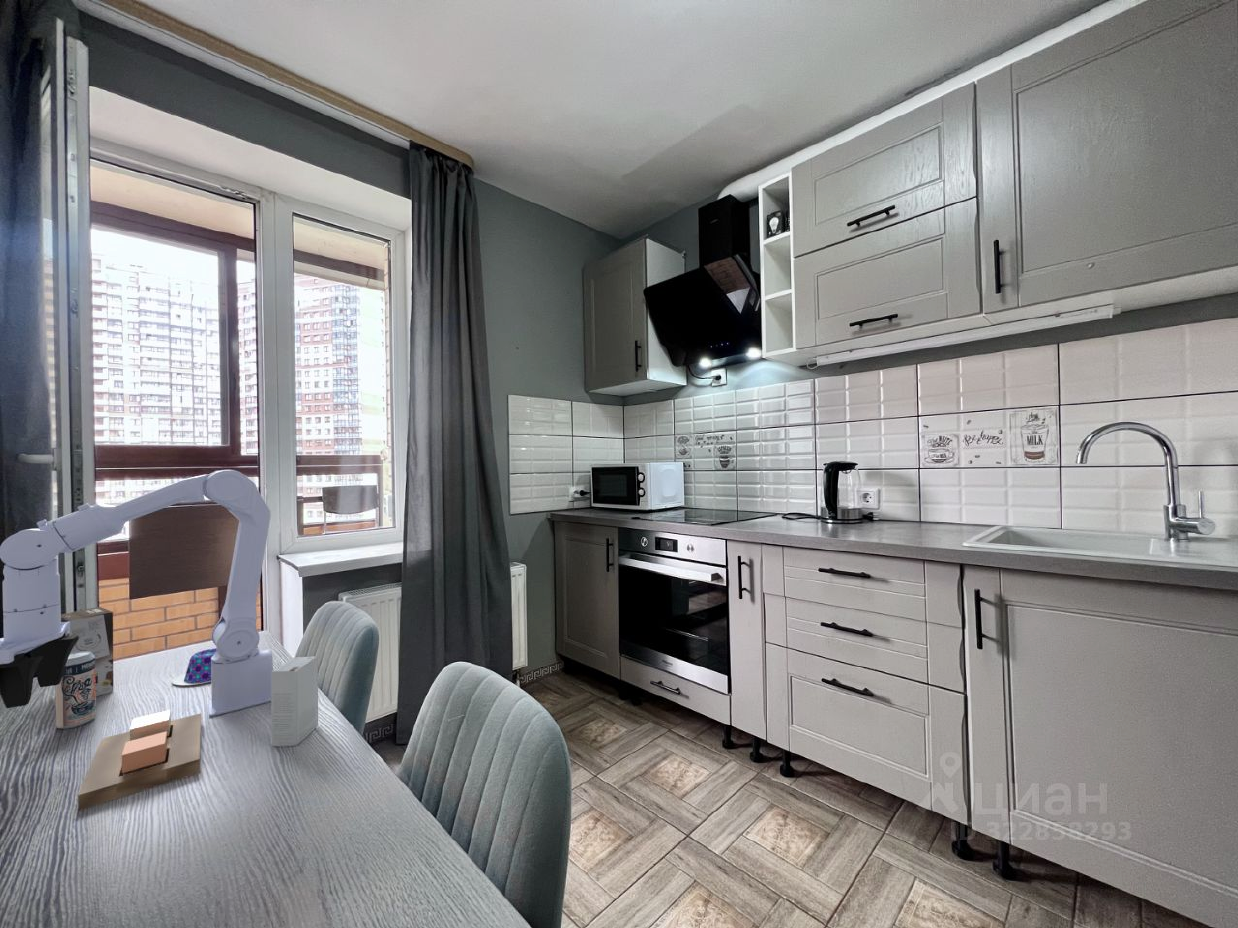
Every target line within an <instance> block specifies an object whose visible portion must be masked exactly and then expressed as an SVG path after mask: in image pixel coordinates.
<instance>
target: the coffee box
mask: <svg viewBox="0 0 1238 928" xmlns="http://www.w3.org/2000/svg"><path fill="white" fill-rule="evenodd" d="M63 622H70V633H69V634H67V635H65V636H71V635H78V636H79V639H78V641H77V643H76V644H75V646H74V647H73V649H72V651H71V653H76V652H82V651H90V652H92V654H93V655H94V656H95V683H96V697H99V696H102V695H103V696H104V695H106V694H111V693H113V692H114V611H112V610H110V609H106V608H104V607H103V606H102V607H101V606H98V607H92V608H86V609H81V610H80V609H79V610H76V611H72V612H68V613H67V612H66V613H61V623H63ZM71 653H70V654H71Z"/></svg>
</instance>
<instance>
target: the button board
mask: <svg viewBox="0 0 1238 928" xmlns="http://www.w3.org/2000/svg"><path fill="white" fill-rule="evenodd" d="M128 741H130V730H129V731H126V732H123V733H118V734H115V735H111V736H107V737H103V738H100V741H99V744H98V747H97V749H96V751H95V753H94V756H93V758H92V761H91V763H90V766H89V768H88V770H87V773H86V775H85V778H84V780H83V783H82V785H81V787H80V789H79V792H78V795H77V807H78V808H77V810H78V812H80V811H83V810H85V809H88V808H89V809H90V808H92V807H95V806H97V805H101V804H104V803H107V802H111V801H114V800H117V799H121V798H124V797H126V796H130V795H133V794H137V793H140V792H143V791H146V790H149V789H152V788H156V787H159V786H161V785H165V784H168V783H171V782H174V781H177V780H181V779H184V778H187V777H190V776H193V775H197V774H200V772H201V748H202V747H201V744H202V713H201V712H200V713H197V714H193V715H189V716H188V715H187V716H185V717H181V718H177V719H173V720H171V727H170V733H169V736H167V752H166V758H165V761H163V762H159V763H156V764H153V765H149V766H146V767H142V768H139V769H135V770H132V771H129V772H125V773H122V752H123V749H124V746H125V743H126V742H128Z"/></svg>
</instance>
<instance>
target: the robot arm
mask: <svg viewBox="0 0 1238 928" xmlns="http://www.w3.org/2000/svg"><path fill="white" fill-rule="evenodd" d="M205 497H206V498H207V499H208V500H210V501H211V502H214V503H216V504H218V505H220V506H221V507H224V508H226V510H227V511H228V512H229V513H230V514H232V516H233V517H235V518H236V519H237V520H238V525H237V526H238V527H237V532H236V537H235V545H234V550H233V556H232V561H231V567H230V571H229V572H230V573H229V579H228V583H227V590H226V596H225V602H224V605H223V606H222V610H221V615H220V618H219V620H218V622H216V624H215V626H214V627H213V629H212V631H211V635H210V637H211V640H212V643H213V644H214V645H215V647H216V648H217V651H216V653H215V654H214V655H213V656H212V657H211V682H210V685H211V698H210V699H209V700H208V717H214V716H219V715H223V714H226V713H230V712H234V711H238V710H242V709H245V708H250V707H253V706H258V705H261V704H264V703H270V702H271V672H272V671H273V670H274V667H273V666H274V665H273V663H274V662H273V652H272V649H271V648H270V649H262V650H261V649H260V647H259V644H260V639H261V638H260V634H259V631H258V629H257V621H258V620H257V619H258V616H257V602H258V600H257V599H258V594H259V588H260V582H261V577H262V576H261V575H262V570H263V564H264V558H265V557H264V556H265V551H266V546H267V540H268V535H269V534H268V533H269V527H270V522H271V521H270V520H271V515H272V514H271V510H270V509H269V506H268V504H267V502H266V501H265V500H264V498H263V496H262V494H261V493H260V491H259V490H258V487H257V484H256V483H255V482H254V481H252V479H250V478H249V477H248V476H246V475H245V474H243V473H242V472H240V471H238V470H235V469H221V470H215V471H212V472H211V473H209V474H201V475H198V476H197V475H196V476H193V477H189V478H185V479H181V480H177V481H176V482H172V483H171V484H168V485H166V486H162V487H160V488H158V489H155V490H153V491H150V492H147V493H145V494H143V495H140V496H138V497H134V498H132V499H130V500H128V501H125V502H122V503H120V504H117V505H109V504H105V503H102V502H99V503H95V504H93V505H90V503H84V504H82V505H79V506H77V509H78V510H77V511H74V512H71V513H69V514H66V515H63V516H60V517H57V518H54V519H52V520H48V521H47V519H42V520H40V521H37V522H36V525H37V527H38V528H29V529H23V530H20V531H18V532H16V533H14V534H12V535H10V536H8V537H7V538H6V539H5V540H3V542H2V543H1V545H0V560H1V561H2V563H4V565H3V568H2V569H3V570H2V574H3V576H4V579H3V580H2V612H3V614H2V615H3V617H2V618H3V637H1V638H0V697H1V700H2V702H3V704H4V706H5V708H6V709H10V708H11V709H13V708H18V707H23V706H27V705H28V704H30V700H31V698H32V692H33V684H34V679H35V675H36V680H37V682H38V685H39V688H44V687H53V686H54V687H55V685H58V684H60V682H61V679H62V676H63V673H64V669H65V666H66V663H67V660H68V657H69V655H70V653H71V651H72V649H73V647H74V646H75V644H76V643H77V641H78V639H79V636H78V635H71V636H65V635H67V634H69V633H70V622H63V623H61V614H62V610H61V609H62V608H61V607H62V605H61V604H62V603H61V575H60V573H59V572H58V558H57V556H58V555H59V554H60V553H62V554H63V553H67V554H71V553H74V552H76V551H78V550H81V549H83V548H86V547H89V546H91V545H93V544H97V543H98V542H99V543H100V542H101V541H103V540H107V539H108V538H111V537H113V536H116V535H118V534H121V532H122V530H123V528H124V527H125V526H124V525H125V524H126V523H127V522H129V521H132V520H135V519H137V518H138V519H139V518H140V517H144V516H146V515H148V514H151V513H155V512H157V511H160V510H163V509H165V508H168V507H171V506H173V505H176V504H179V503H181V502H205ZM26 653H28V654H29V656H30V657H28V656H27V655H25V654H26Z"/></svg>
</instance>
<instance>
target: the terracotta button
mask: <svg viewBox="0 0 1238 928" xmlns="http://www.w3.org/2000/svg"><path fill="white" fill-rule="evenodd" d="M166 752H167V731H166V732H162V733H158V734H155V735H151V736H147V737H143V738H139V739H136V740H132V741H128V742H126V743H125V746H124V749H123V752H122V773H125V772H129V771H132V770H135V769H139V768H142V767H146V766H149V765H153V764H156V763H159V762H163V761H165V758H166Z"/></svg>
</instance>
